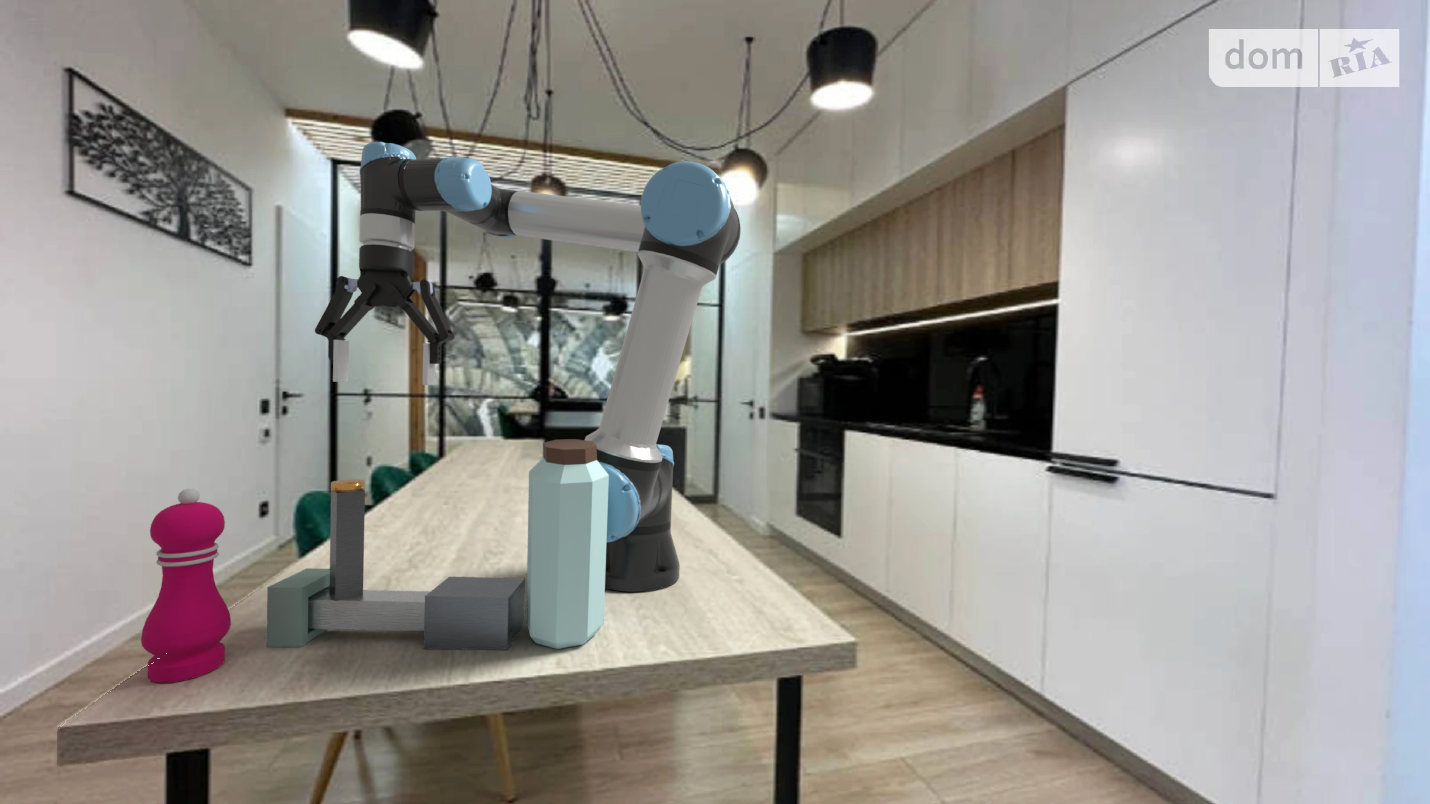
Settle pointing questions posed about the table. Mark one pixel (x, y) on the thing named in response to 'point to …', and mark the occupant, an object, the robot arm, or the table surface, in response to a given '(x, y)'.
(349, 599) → the gray hammer
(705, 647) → the table surface
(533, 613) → the water bottle
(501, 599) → the charcoal rectangular brick
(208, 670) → the pepper mill
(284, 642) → the socket block
